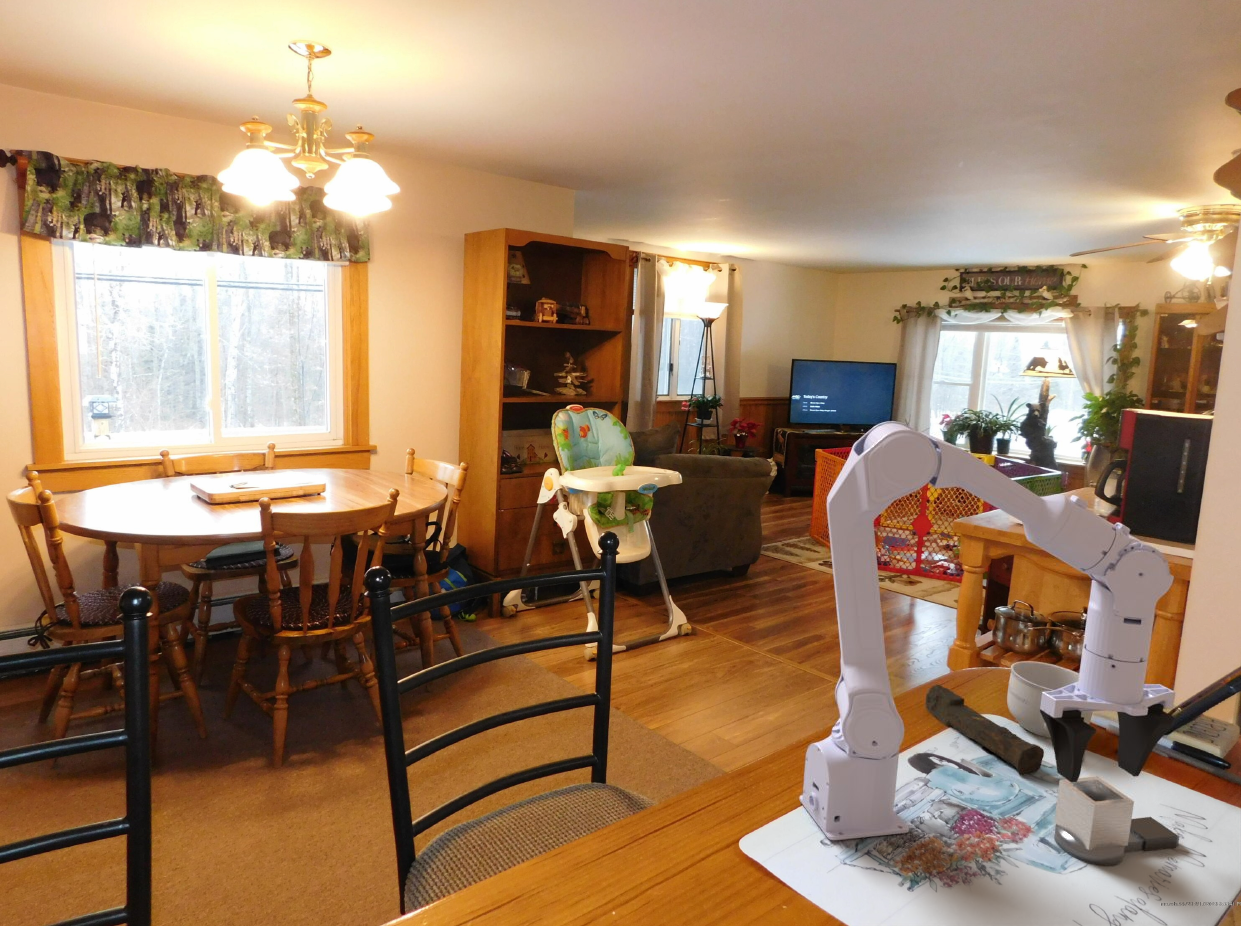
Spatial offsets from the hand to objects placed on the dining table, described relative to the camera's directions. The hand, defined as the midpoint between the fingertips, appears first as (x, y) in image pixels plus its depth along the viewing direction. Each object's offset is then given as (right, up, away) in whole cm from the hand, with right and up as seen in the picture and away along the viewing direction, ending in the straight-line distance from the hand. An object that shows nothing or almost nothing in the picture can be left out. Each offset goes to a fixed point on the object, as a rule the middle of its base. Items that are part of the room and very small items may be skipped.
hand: (1097, 774), depth 84 cm
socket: (0, -7, +1) cm, 7 cm away
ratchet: (+3, -8, +2) cm, 9 cm away
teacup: (+9, -5, +26) cm, 28 cm away
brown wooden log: (-3, -5, +24) cm, 25 cm away
